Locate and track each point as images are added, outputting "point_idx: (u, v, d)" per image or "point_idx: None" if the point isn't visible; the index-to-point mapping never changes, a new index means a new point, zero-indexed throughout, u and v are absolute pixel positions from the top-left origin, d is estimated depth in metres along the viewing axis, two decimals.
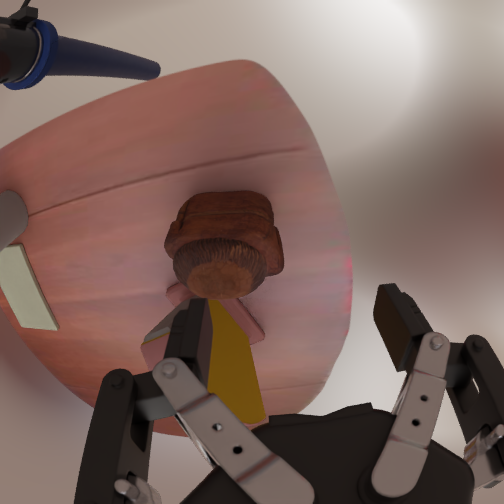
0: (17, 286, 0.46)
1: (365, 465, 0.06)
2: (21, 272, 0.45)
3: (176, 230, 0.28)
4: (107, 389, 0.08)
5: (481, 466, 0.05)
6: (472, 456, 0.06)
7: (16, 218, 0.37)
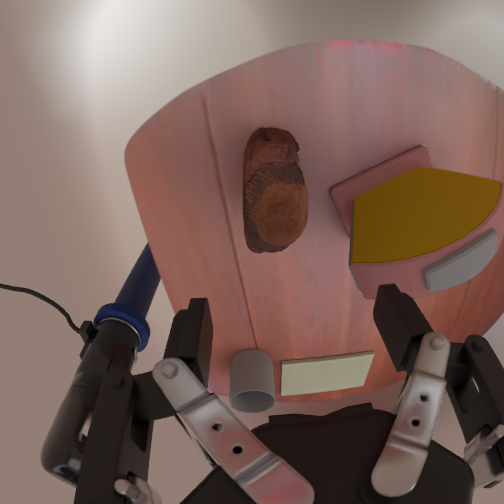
0: (321, 377, 0.61)
1: (365, 465, 0.06)
2: (308, 369, 0.59)
3: None
4: (107, 389, 0.08)
5: (481, 466, 0.05)
6: (473, 456, 0.06)
7: (252, 361, 0.54)
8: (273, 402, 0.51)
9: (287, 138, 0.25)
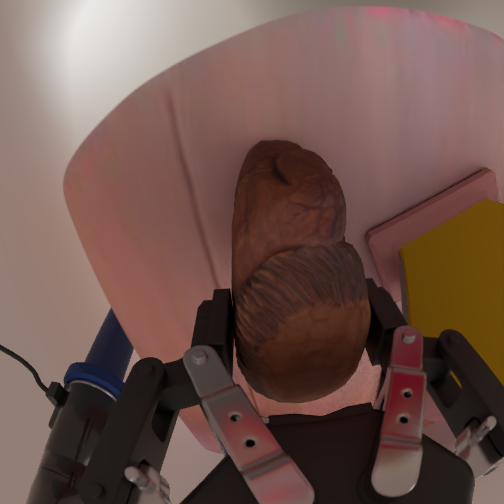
0: None
1: (361, 469, 0.06)
2: None
3: None
4: (136, 376, 0.09)
5: (477, 459, 0.05)
6: (466, 450, 0.06)
7: None
8: None
9: (329, 181, 0.11)
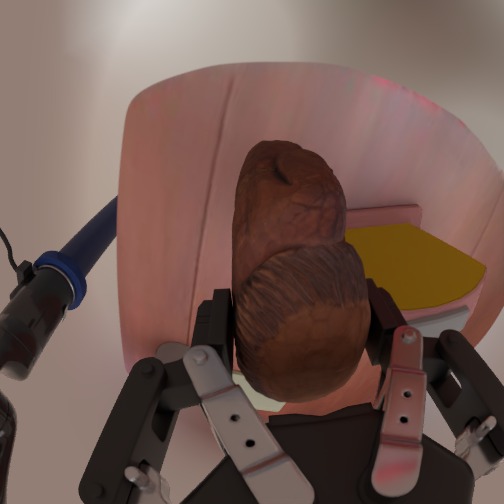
0: None
1: (361, 469, 0.06)
2: None
3: None
4: (136, 376, 0.09)
5: (477, 459, 0.05)
6: (466, 450, 0.06)
7: (179, 356, 0.51)
8: None
9: (330, 181, 0.11)
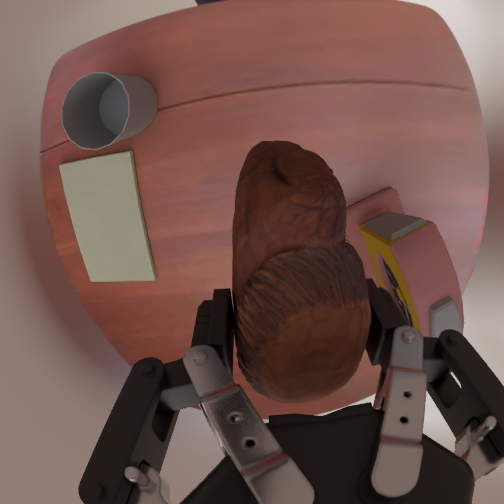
0: (104, 216, 0.40)
1: (360, 469, 0.06)
2: (120, 192, 0.38)
3: None
4: (136, 376, 0.09)
5: (477, 459, 0.05)
6: (466, 450, 0.06)
7: (150, 103, 0.31)
8: (90, 147, 0.27)
9: (330, 181, 0.11)
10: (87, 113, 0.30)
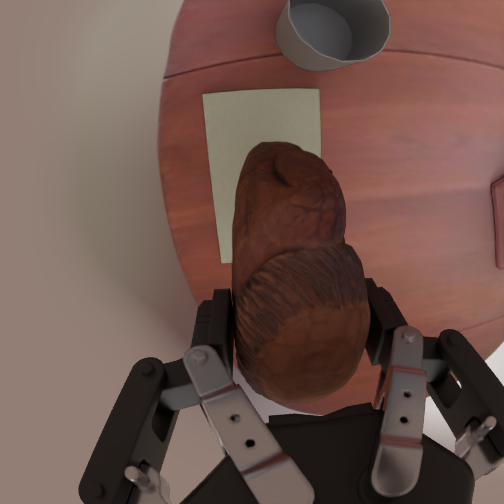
0: None
1: (361, 469, 0.06)
2: (297, 138, 0.30)
3: None
4: (136, 376, 0.09)
5: (477, 459, 0.05)
6: (466, 450, 0.06)
7: None
8: None
9: (329, 183, 0.11)
10: (281, 26, 0.22)
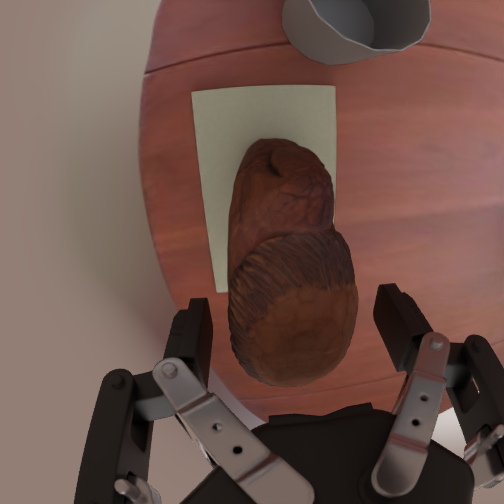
0: None
1: (365, 465, 0.06)
2: (308, 147, 0.24)
3: None
4: (107, 389, 0.08)
5: (481, 466, 0.05)
6: (473, 456, 0.06)
7: None
8: None
9: (318, 173, 0.12)
10: (289, 7, 0.16)
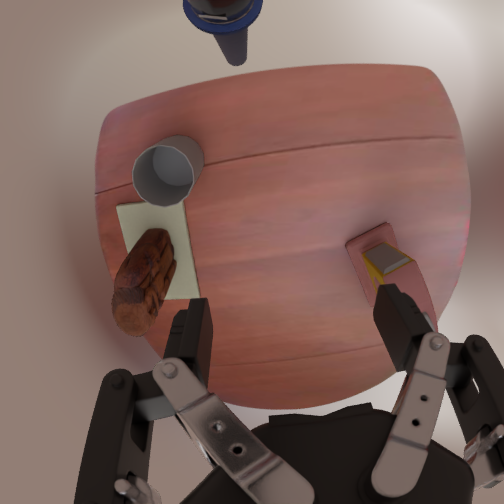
0: None
1: (365, 465, 0.06)
2: (172, 230, 0.50)
3: None
4: (107, 389, 0.08)
5: (481, 466, 0.05)
6: (473, 456, 0.06)
7: (201, 163, 0.42)
8: (159, 204, 0.39)
9: (133, 268, 0.38)
10: (146, 169, 0.42)
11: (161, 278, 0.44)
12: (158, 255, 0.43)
